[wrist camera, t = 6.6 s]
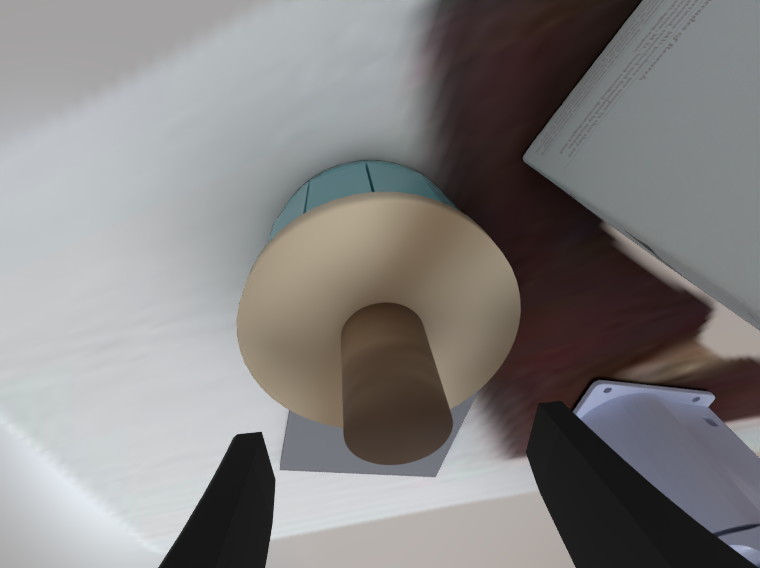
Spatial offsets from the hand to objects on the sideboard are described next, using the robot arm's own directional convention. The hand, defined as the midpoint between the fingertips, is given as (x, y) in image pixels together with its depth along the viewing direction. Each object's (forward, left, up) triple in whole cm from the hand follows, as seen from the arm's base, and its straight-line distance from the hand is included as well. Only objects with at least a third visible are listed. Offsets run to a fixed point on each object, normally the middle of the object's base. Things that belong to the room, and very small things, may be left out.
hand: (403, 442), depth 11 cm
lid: (0, 0, -5) cm, 5 cm away
